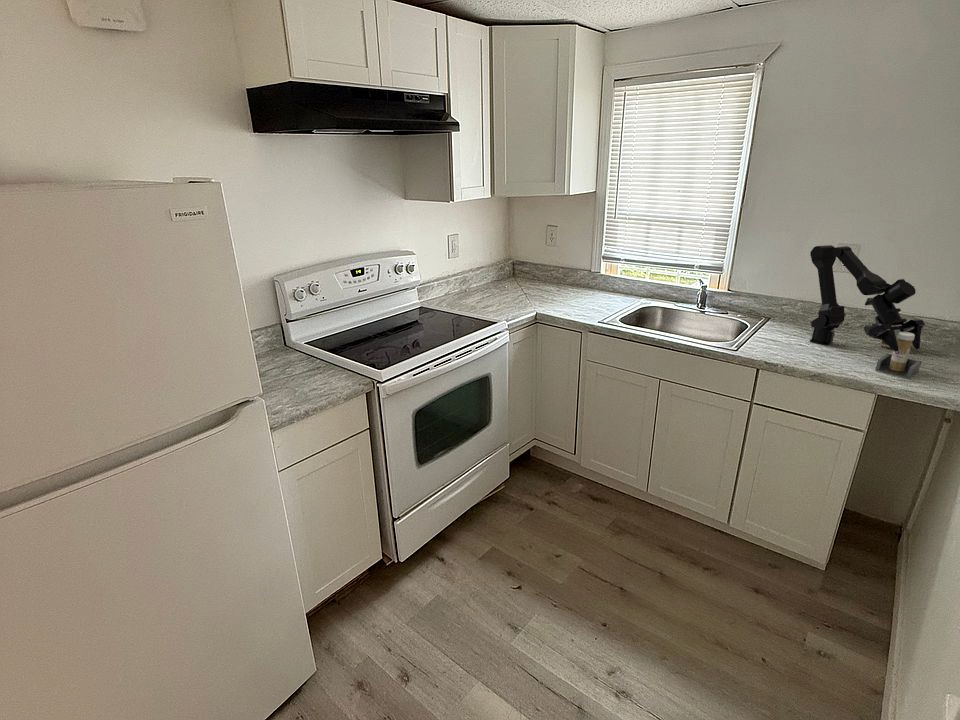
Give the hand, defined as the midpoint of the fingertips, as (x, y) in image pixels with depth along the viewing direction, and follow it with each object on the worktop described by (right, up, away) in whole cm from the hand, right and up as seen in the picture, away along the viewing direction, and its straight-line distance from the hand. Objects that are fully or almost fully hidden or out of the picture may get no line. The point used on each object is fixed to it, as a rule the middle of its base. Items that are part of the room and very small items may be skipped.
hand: (907, 349), depth 177 cm
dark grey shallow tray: (0, -7, +4) cm, 9 cm away
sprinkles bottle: (0, -7, +5) cm, 8 cm away
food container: (+17, +1, +25) cm, 30 cm away
